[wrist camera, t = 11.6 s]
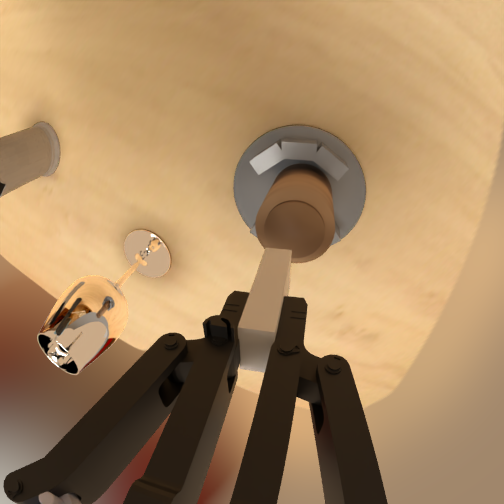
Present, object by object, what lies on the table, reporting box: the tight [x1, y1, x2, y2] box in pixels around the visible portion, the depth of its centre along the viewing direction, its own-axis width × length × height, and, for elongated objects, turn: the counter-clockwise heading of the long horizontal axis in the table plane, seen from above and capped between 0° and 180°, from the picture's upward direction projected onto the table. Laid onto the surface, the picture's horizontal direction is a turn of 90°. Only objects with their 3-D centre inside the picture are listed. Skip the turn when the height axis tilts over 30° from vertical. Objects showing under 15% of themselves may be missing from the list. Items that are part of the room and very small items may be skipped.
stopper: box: [255, 164, 335, 263], centre depth 27 cm, size 6×6×10 cm
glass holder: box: [0, 122, 60, 197], centre depth 30 cm, size 9×14×15 cm, turn 116°
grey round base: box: [234, 125, 366, 246], centre depth 30 cm, size 14×14×4 cm
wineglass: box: [37, 229, 171, 375], centre depth 32 cm, size 8×8×20 cm
